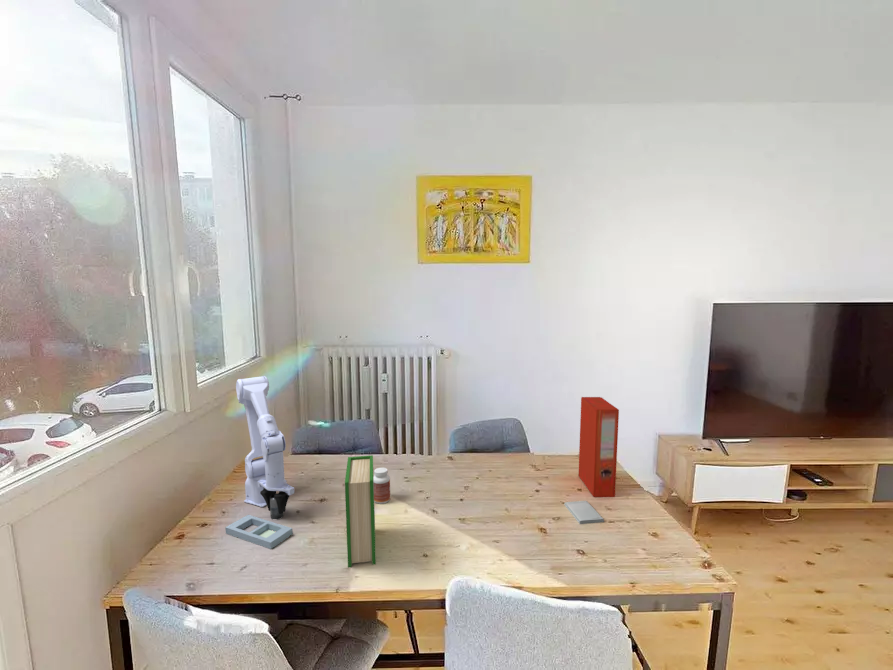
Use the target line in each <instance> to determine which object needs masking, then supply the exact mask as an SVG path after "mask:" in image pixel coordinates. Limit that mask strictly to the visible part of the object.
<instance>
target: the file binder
mask: <svg viewBox="0 0 893 670" xmlns="http://www.w3.org/2000/svg"><path fill="white" fill-rule="evenodd" d="M619 416H620V409H619V408H617V407H616V406H614V405H613V404H611V403H610V402H609V401H607V400H606V399H604V397H602V396H581V397H580V418H579V419H580V420H579V421H580V423H579V424H580V425H579V427H580V428H579V451H578V477H579V479H580V480H581V482H582V483H583V485H584V486H585V487H586V488H587V490H588V491H589V493H590V494H591V496H592V497H594V498H615V497H616V479H617V460H618V440H619V438H618V436H619V419H620V417H619Z"/></svg>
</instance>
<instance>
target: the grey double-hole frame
mask: <svg viewBox="0 0 893 670" xmlns="http://www.w3.org/2000/svg"><path fill="white" fill-rule="evenodd" d="M252 525H254V526H256V528H254V529H252V530H251V531H247V530H245V529H246V527H247V528H248V527H250V526H252ZM272 530H273V531H272ZM275 531H276V532H275ZM293 533H294V532H293V527H290V526H287V525H283V524H280V523H276V522H273V521H271V520H268V519H263V518H260V517H257V516H255V515H251V514H247V515H245V516H243V517H241V518H240V519H237V520H236V521H234V522H232V523H230V524H229V525H226V526H225V534H226V535H229V536H231V537H235V538H237V537H238V539H240V540H244V541H246V542H249V543H252V544H255V545H258V546H261V547H264V548H267V549H269V550H272V549H274V548H275V547H277V546H278V545H280V542H281V543H282V542H284V541H285V540H286V538H287V539H288V538H289V536H290V535H291V536H293V535H292V534H293ZM291 536H290V537H291ZM283 540H284V541H283Z"/></svg>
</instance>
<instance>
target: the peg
mask: <svg viewBox="0 0 893 670" xmlns="http://www.w3.org/2000/svg"><path fill="white" fill-rule="evenodd" d="M276 494H277V493H276ZM276 494H273V495H271V496H270V519H271V520H273V519H277V520H280V518H281V519H282V518H283V517H284V516H285V512H283V513H282V514H279V512H278V505H277V502H276V499H275V497H274V495H276Z"/></svg>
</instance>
